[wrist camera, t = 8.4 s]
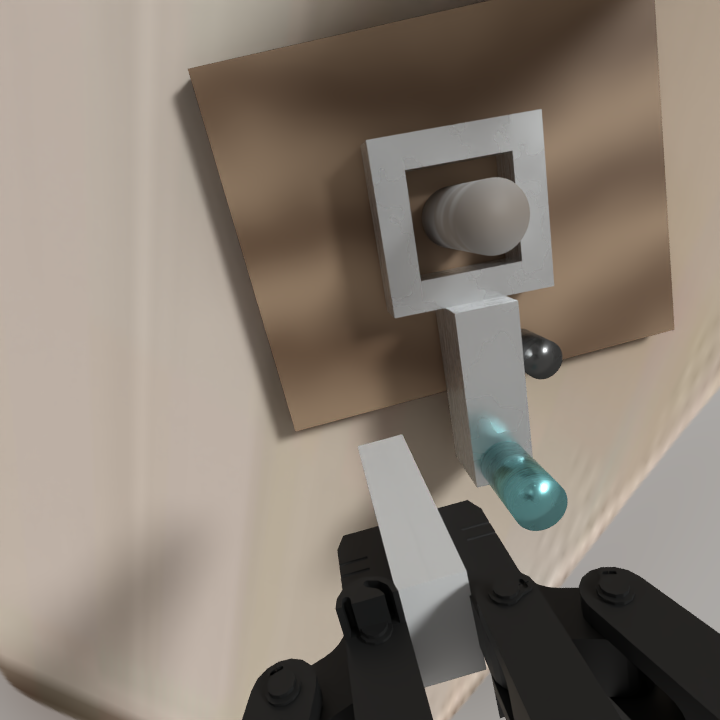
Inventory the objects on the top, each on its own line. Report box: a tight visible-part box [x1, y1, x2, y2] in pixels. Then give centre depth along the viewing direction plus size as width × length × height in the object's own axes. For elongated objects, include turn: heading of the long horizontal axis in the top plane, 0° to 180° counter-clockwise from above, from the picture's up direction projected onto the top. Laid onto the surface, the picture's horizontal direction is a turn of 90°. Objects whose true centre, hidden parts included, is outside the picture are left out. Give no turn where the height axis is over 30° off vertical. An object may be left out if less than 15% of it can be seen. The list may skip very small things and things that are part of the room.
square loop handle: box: [360, 109, 567, 531], centre depth 24 cm, size 17×8×8 cm, turn 10°
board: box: [188, 0, 674, 432], centre depth 24 cm, size 18×22×7 cm
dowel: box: [521, 329, 562, 379], centre depth 28 cm, size 2×2×4 cm
